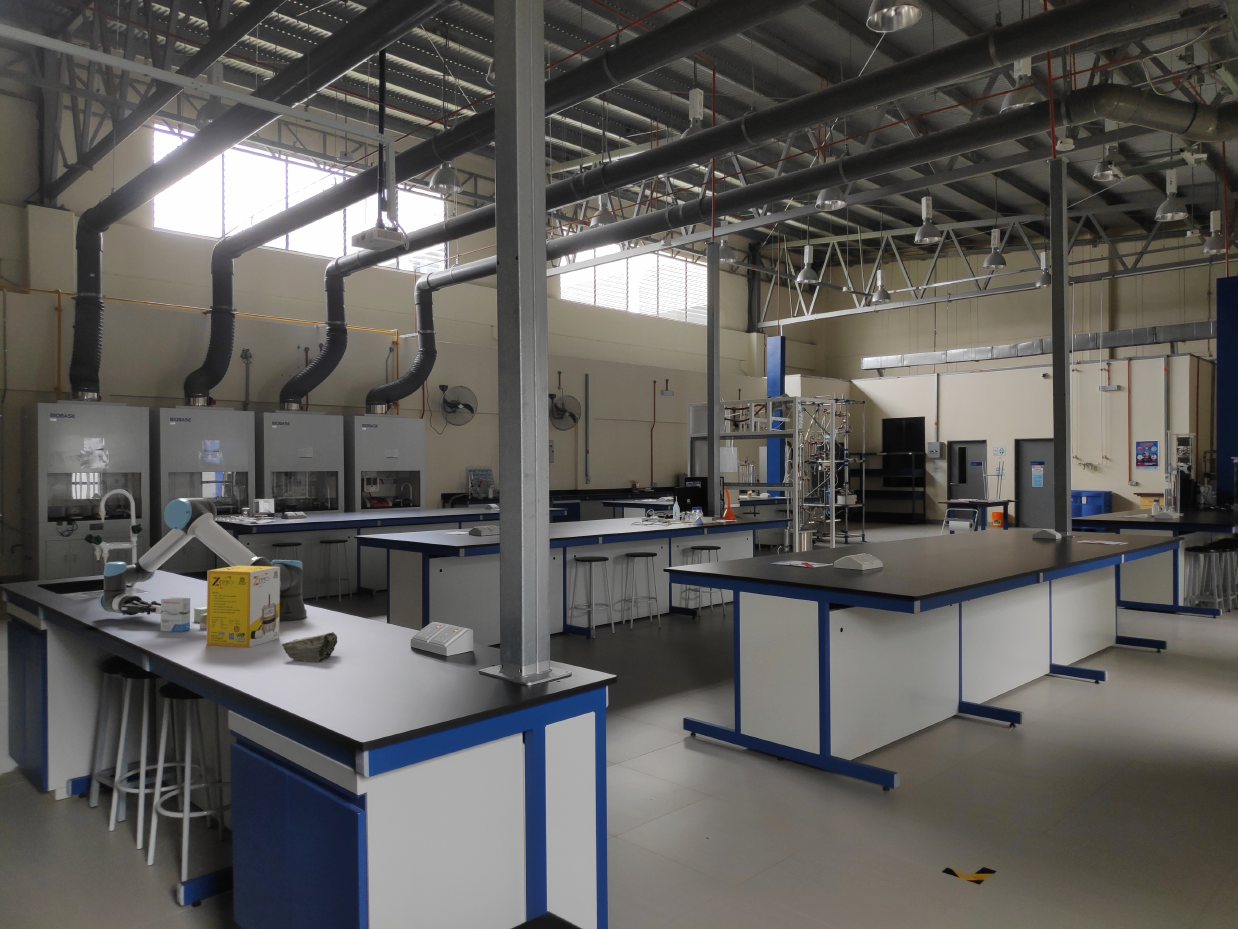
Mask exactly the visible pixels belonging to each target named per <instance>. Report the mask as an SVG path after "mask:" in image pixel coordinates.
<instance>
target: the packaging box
mask: <svg viewBox="0 0 1238 929" xmlns="http://www.w3.org/2000/svg"><path fill="white" fill-rule="evenodd" d="M206 581H207V583H206V585H207V586H206V607H207V629H206V641H205V642H206V646H217V647H234V648H235V647H236V648H252V647H256V646H259V645H261V644H265V643H267V642H271V641H274V640H277V639H279V638H280V621H279V614H280V567H268V566H240V565H238V566H228V567H227V566H226V567H221V568H215V569H210V570H207V580H206Z"/></svg>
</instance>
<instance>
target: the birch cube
mask: <svg viewBox="0 0 1238 929" xmlns="http://www.w3.org/2000/svg"><path fill="white" fill-rule="evenodd" d="M199 629H206V630H207V613H205V614H202V615H200V622H199Z"/></svg>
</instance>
